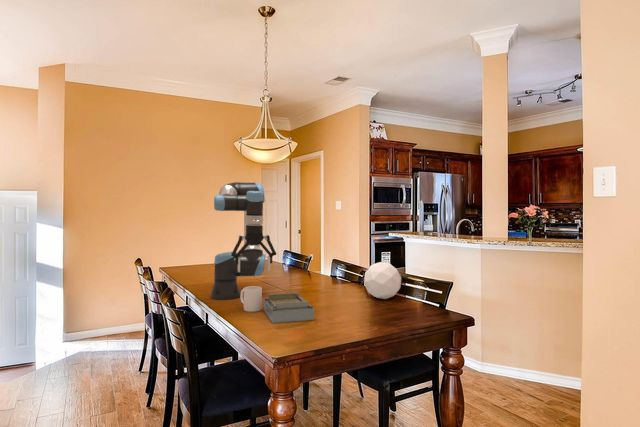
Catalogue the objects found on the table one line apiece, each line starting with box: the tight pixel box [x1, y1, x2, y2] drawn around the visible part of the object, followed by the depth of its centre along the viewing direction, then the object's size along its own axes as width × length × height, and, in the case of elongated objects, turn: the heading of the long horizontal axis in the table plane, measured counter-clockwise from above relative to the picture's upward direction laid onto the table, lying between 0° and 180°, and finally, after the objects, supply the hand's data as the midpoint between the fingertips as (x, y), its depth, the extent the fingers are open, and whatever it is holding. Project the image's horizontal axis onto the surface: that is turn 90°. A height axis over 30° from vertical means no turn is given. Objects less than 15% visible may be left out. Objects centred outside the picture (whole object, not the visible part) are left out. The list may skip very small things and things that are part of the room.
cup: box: [239, 285, 263, 313], centre depth 184 cm, size 8×12×10 cm
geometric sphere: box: [363, 261, 402, 300], centre depth 210 cm, size 19×20×20 cm
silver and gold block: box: [263, 292, 315, 324], centre depth 175 cm, size 22×18×8 cm
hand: (253, 271), depth 180 cm, fingers open, 13 cm apart
